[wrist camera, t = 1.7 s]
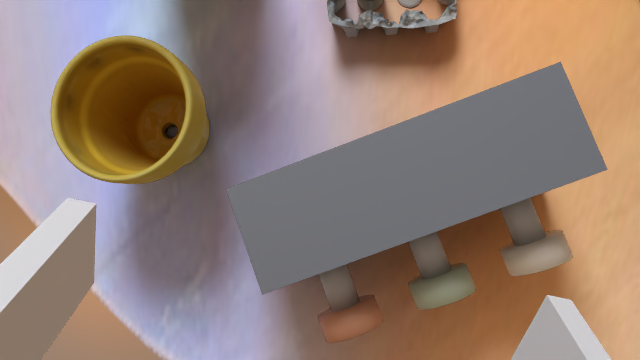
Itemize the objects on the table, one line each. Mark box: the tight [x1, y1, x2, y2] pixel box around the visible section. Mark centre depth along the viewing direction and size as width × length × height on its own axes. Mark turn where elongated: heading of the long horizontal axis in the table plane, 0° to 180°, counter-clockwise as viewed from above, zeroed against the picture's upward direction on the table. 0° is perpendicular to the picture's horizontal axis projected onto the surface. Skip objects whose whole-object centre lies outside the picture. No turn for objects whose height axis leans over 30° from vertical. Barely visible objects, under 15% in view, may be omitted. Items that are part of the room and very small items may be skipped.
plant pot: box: [51, 36, 210, 184], centre depth 38 cm, size 10×10×10 cm
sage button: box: [408, 231, 476, 310], centre depth 35 cm, size 4×6×4 cm
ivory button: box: [500, 198, 573, 276], centre depth 35 cm, size 4×6×4 cm
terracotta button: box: [318, 264, 383, 343], centre depth 36 cm, size 4×6×4 cm
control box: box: [226, 62, 607, 294], centre depth 35 cm, size 22×7×11 cm, turn 110°
